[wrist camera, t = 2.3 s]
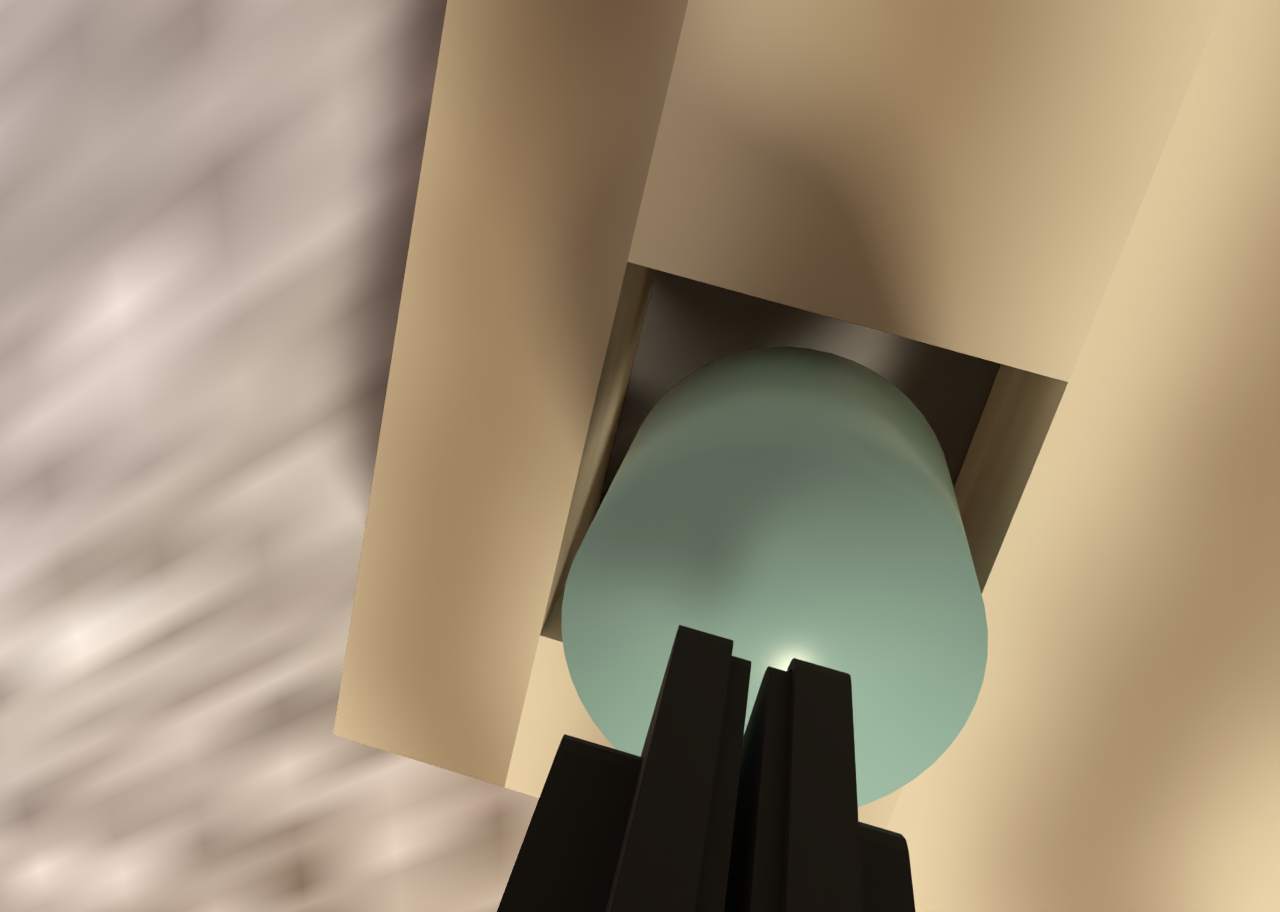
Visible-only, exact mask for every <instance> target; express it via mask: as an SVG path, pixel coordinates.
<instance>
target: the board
mask: <svg viewBox="0 0 1280 912" xmlns="http://www.w3.org/2000/svg"><path fill="white" fill-rule="evenodd" d="M656 270H660V271H663V272H667V273H671V274H674V275H678V276H682V277H685V278H689V279H693V280H696V281H700V282H704V283H707V284H711V285H715V286H718V287H722V288H726V289H729V290H733V291H737V292H740V293H744V294H747V295H751V296H755V297H758V298H762V299H766V300H769V301H773V302H777V303H780V304H784V305H788V306H791V307H795V308H799V309H802V310H806V311H810V312H813V313H817V314H821V315H824V316H828V317H832V318H835V319H839V320H843V321H846V322H850V323H854V324H857V325H861V326H865V327H868V328H872V329H875V330H879V331H883V332H886V333H890V334H894V335H897V336H901V337H905V338H908V339H912V340H916V341H919V342H923V343H927V344H930V345H934V346H938V347H941V348H945V349H949V350H952V351H956V352H960V353H963V354H967V355H971V356H974V357H978V358H982V359H985V360H989V361H993V362H996V363H1000V364H1001V366H1000V368H999V371H998V373H997V376H996V379H995V381H994V384H993V387H992V389H991V392H990V394H989V397H988V400H987V402H986V405H985V408H984V410H983V413H982V416H981V418H980V421H979V423H978V426H977V429H976V431H975V434H974V437H973V439H972V442H971V444H970V447H969V450H968V452H967V455H966V458H965V460H964V463H963V465H962V468H961V471H960V473H959V476H958V479H957V481H956V484H955V486H954V492H955V496H956V499H957V503H958V507H959V511H960V515H961V519H962V522H963V526H964V530H965V534H966V538H967V541H968V545H969V549H970V553H971V557H972V560H973V564H974V568H975V572H976V576H977V579H978V583H979V587H980V591H981V595H982V598H983V602H984V606H985V613H986V621H987V628H988V657H987V663H986V668H985V674H984V680H983V683H982V686H981V689H980V692H979V695H978V698H977V701H976V704H975V706H974V708H973V710H972V712H971V714H970V716H969V718H968V720H967V722H966V724H965V726H964V727H963V729H962V730H961V732H960V733H959V734H958V736H957V737H956V738H955V740H954V741H953V743H952V744H951V745H950V747H949V748H948V749H947V750H946V751H945V752H944V753H943V754H942V755H941V756H940V757H939V758H938V759H937V760H936V761H935V763H934V764H933V765H931V766H930V767H929V768H928V769H926V770H925V771H924V772H923V773H921V774H920V775H919V776H918V777H916V778H915V779H914V780H913V781H911V782H909V783H908V784H906V785H904V786H903V787H901V788H899V789H898V790H896V791H894V792H893V793H891V794H889V795H887V796H884V797H882V798H880V799H878V800H875V801H873V802H871V803H869V804H866V805H863V806H860V807H858V821H859V822H862V823H866V824H869V825H873V826H876V827H879V828H883V829H886V830H889V831H893V832H896V833H899V834H902V835H903V837H904V838H905V839H906V841H907V846H908V850H909V857H910V866H911V875H912V884H913V893H914V902H915V911H916V912H1280V0H447V5H446V12H445V18H444V24H443V31H442V37H441V44H440V50H439V57H438V63H437V69H436V76H435V82H434V89H433V95H432V102H431V108H430V115H429V121H428V127H427V134H426V140H425V147H424V153H423V160H422V166H421V172H420V179H419V185H418V192H417V198H416V205H415V211H414V218H413V224H412V230H411V237H410V243H409V250H408V256H407V263H406V269H405V275H404V282H403V288H402V295H401V301H400V308H399V314H398V320H397V327H396V333H395V340H394V346H393V353H392V359H391V366H390V372H389V378H388V385H387V391H386V398H385V404H384V411H383V417H382V423H381V430H380V436H379V443H378V449H377V456H376V462H375V468H374V475H373V481H372V488H371V494H370V501H369V507H368V514H367V520H366V526H365V533H364V539H363V546H362V552H361V559H360V565H359V571H358V578H357V584H356V591H355V597H354V604H353V610H352V617H351V623H350V629H349V636H348V642H347V649H346V655H345V662H344V668H343V674H342V681H341V687H340V694H339V700H338V707H337V713H336V719H335V726H334V732H333V735H337V736H340V737H343V738H346V739H349V740H353V741H356V742H359V743H362V744H366V745H369V746H372V747H375V748H379V749H382V750H385V751H388V752H392V753H395V754H398V755H401V756H405V757H408V758H411V759H414V760H417V761H421V762H424V763H427V764H430V765H434V766H437V767H440V768H443V769H447V770H450V771H453V772H456V773H460V774H463V775H466V776H469V777H473V778H476V779H479V780H482V781H486V782H489V783H492V784H495V785H498V786H502V787H505V788H508V789H511V790H515V791H518V792H521V793H524V794H528V795H531V796H534V797H537V798H540V795H541V792H542V790H543V787H544V784H545V782H546V779H547V776H548V774H549V771H550V768H551V766H552V763H553V760H554V758H555V755H556V752H557V750H558V747H559V745H560V742H561V740H562V737H563V736H564V734H566V735H569V736H573V737H576V738H580V739H583V740H586V741H590V742H593V743H596V744H600V745H603V746H606V747H610V748H613V749H616V748H615V747H614V746H613V745H612V744H611V743H610V742H609V741H608V740H607V739H606V737H605V736H604V735H603V734H602V732H601V731H600V730H599V728H598V727H597V726H596V725H595V723H594V722H593V721H592V719H591V717H590V716H589V714H588V712H587V710H586V709H585V707H584V705H583V704H582V702H581V700H580V698H579V696H578V693H577V691H576V689H575V686H574V684H573V682H572V679H571V677H570V673H569V669H568V666H567V662H566V659H565V655H564V647H563V640H562V632H561V623H562V603H563V596H564V590H565V584H566V581H567V578H568V575H569V571H570V568H571V565H572V562H573V560H574V558H575V556H576V554H577V552H578V550H579V547H580V545H581V543H582V541H583V539H584V537H585V535H586V533H587V531H588V529H589V527H590V525H591V523H592V521H593V519H594V518H595V516H596V513H597V509H598V505H599V501H600V496H601V492H602V488H603V484H604V480H605V476H606V472H607V468H608V464H609V460H610V456H611V452H612V447H613V443H614V439H615V435H616V431H617V427H618V423H619V419H620V415H621V411H622V407H623V403H624V398H625V394H626V390H627V386H628V382H629V378H630V374H631V370H632V366H633V362H634V358H635V353H636V349H637V345H638V341H639V337H640V333H641V329H642V325H643V321H644V317H645V313H646V309H647V304H648V300H649V296H650V292H651V288H652V284H653V280H654V276H655V272H656Z"/></svg>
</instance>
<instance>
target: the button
mask: <svg viewBox="0 0 1280 912" xmlns="http://www.w3.org/2000/svg"><path fill="white" fill-rule="evenodd" d="M679 625H682V626H686V627H689V628H693V629H696V630H699V631H703V632H706V633H710V634H713V635H717V636H720V637H724V638H727V639H731V640H733V641H734V642H733V651H732V656H735V657H739V658H742V659H745V660H749V661H751V673H750V682H749V691H748V700H747V709H746V718H745V727H744V733H745V730H746V727H747V724H748V721H749V718H750V715H751V712H752V709H753V706H754V703H755V700H756V697H757V694H758V691H759V688H760V685H761V682H762V679H763V676H764V673H765V671H766V669H767V667H768V666H770V667H773V668H776V669H780V670H783V671H787V669H788V667H789V664H790V662H791V660H792V659H793V658H796V659H800V660H803V661H807V662H810V663H814V664H817V665H820V666H824V667H827V668H831V669H834V670H838V671H841V672H845V673H848V674H850V676H851V684H852V704H853V724H854V743H855V763H856V783H857V802H858V807H860V806H863V805H866V804H869V803H871V802H873V801H875V800H878V799H880V798H882V797H884V796H887V795H889V794H891V793H893V792H894V791H896V790H898V789H899V788H901V787H903V786H904V785H906V784H908V783H909V782H911V781H913V780H914V779H915V778H916V777H918V776H919V775H920V774H921V773H923V772H924V771H925V770H926V769H928V768H929V767H930V766H931V765H933V764H934V763H935V761H936V760H937V759H938V758H939V757H940V756H941V755H942V754H943V753H944V752H945V751H946V750H947V749H948V748H949V747H950V745H951V744H952V743H953V741H954V740H955V738H956V737H957V736H958V734H959V733H960V732H961V730H962V729H963V727H964V726H965V724H966V722H967V720H968V718H969V716H970V714H971V712H972V710H973V708H974V706H975V704H976V701H977V698H978V695H979V692H980V689H981V686H982V683H983V680H984V674H985V668H986V663H987V657H988V628H987V621H986V613H985V606H984V602H983V598H982V595H981V591H980V587H979V583H978V579H977V576H976V572H975V568H974V564H973V560H972V557H971V553H970V549H969V545H968V541H967V538H966V534H965V530H964V526H963V522H962V519H961V515H960V511H959V507H958V503H957V499H956V496H955V492H954V488H953V484H952V480H951V477H950V473H949V469H948V466H947V463H946V459H945V456H944V452H943V450H942V448H941V446H940V444H939V441H938V439H937V437H936V435H935V433H934V431H933V430H932V428H931V427H930V425H929V423H928V422H927V420H926V419H925V417H924V416H923V414H922V413H921V412H920V411H919V410H918V408H917V407H916V406H915V405H914V404H913V403H912V402H911V400H910V399H909V398H908V397H907V396H906V395H904V394H903V393H902V392H901V391H900V390H899V389H898V388H897V387H895V386H894V385H893V384H892V383H891V382H889V381H888V380H886V379H885V378H883V377H882V376H880V375H879V374H877V373H876V372H874V371H872V370H870V369H868V368H866V367H864V366H862V365H860V364H858V363H856V362H854V361H852V360H849V359H846V358H843V357H840V356H837V355H835V354H832V353H827V352H822V351H817V350H813V349H806V348H793V347H775V348H761V349H756V350H750V351H744V352H740V353H737V354H733V355H730V356H727V357H724V358H721V359H718V360H716V361H714V362H712V363H710V364H708V365H705V366H703V367H701V368H699V369H698V370H696V371H695V372H693V373H691V374H690V375H688V376H687V377H685V378H684V379H682V380H681V381H680V382H679V383H677V384H676V385H675V386H674V387H673V388H671V389H670V390H669V391H668V392H667V393H666V394H665V395H664V396H663V397H662V398H661V399H660V400H659V401H658V403H657V404H656V405H655V406H654V407H653V408H652V410H651V411H650V413H649V414H648V415H647V417H646V418H645V420H644V421H643V423H642V424H641V426H640V428H639V430H638V432H637V434H636V436H635V438H634V440H633V442H632V444H631V446H630V448H629V450H628V452H627V454H626V456H625V458H624V460H623V462H622V464H621V466H620V468H619V470H618V472H617V474H616V476H615V478H614V480H613V482H612V484H611V486H610V488H609V490H608V492H607V494H606V496H605V498H604V500H603V502H602V504H601V506H600V508H599V510H598V512H597V514H596V516H595V518H594V519H593V521H592V523H591V525H590V527H589V529H588V531H587V533H586V535H585V537H584V539H583V541H582V543H581V545H580V547H579V550H578V552H577V554H576V556H575V558H574V560H573V562H572V565H571V568H570V571H569V575H568V578H567V581H566V584H565V590H564V596H563V603H562V623H561V632H562V640H563V647H564V655H565V659H566V662H567V666H568V669H569V673H570V677H571V679H572V682H573V684H574V686H575V689H576V691H577V693H578V696H579V698H580V700H581V702H582V704H583V705H584V707H585V709H586V710H587V712H588V714H589V716H590V717H591V719H592V721H593V722H594V723H595V725H596V726H597V727H598V728H599V730H600V731H601V732H602V734H603V735H604V736H605V737H606V739H607V740H608V741H609V742H610V743H611V744H612V745H613V746H614V747H615V748H616V749H617V750H620V751H623V752H627V753H630V754H633V755H637V756H640V757H641V753H642V750H643V746H644V743H645V740H646V736H647V733H648V729H649V726H650V722H651V719H652V715H653V712H654V708H655V705H656V702H657V698H658V695H659V691H660V688H661V684H662V681H663V677H664V674H665V670H666V667H667V664H668V660H669V657H670V653H671V650H672V646H673V643H674V639H675V636H676V633H677V630H678V627H679Z"/></svg>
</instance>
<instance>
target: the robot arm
mask: <svg viewBox="0 0 1280 912" xmlns="http://www.w3.org/2000/svg"><path fill="white" fill-rule="evenodd" d="M733 642H734V641H733V640H731V639H727V638H724V637H720V636H717V635H713V634H710V633H706V632H703V631H699V630H696V629H693V628H689V627H686V626H682V625H679V627H678V630H677V633H676V636H675V639H674V643H673V646H672V650H671V653H670V657H669V660H668V664H667V667H666V670H665V674H664V677H663V681H662V684H661V688H660V691H659V695H658V698H657V702H656V705H655V708H654V712H653V715H652V719H651V722H650V726H649V729H648V733H647V736H646V740H645V743H644V746H643V750H642V753H641V757H640V756H637V755H633V754H630V753H627V752H623V751H620V750H617V749H613V748H610V747H606V746H603V745H600V744H596V743H593V742H590V741H586V740H583V739H580V738H576V737H573V736H569V735H566V734H564V736H563V737H562V740H561V742H560V745H559V747H558V750H557V752H556V755H555V758H554V760H553V763H552V766H551V768H550V771H549V774H548V776H547V779H546V782H545V784H544V787H543V790H542V792H541V795H540V798H539V800H538V803H537V806H536V809H535V811H534V814H533V817H532V819H531V822H530V825H529V827H528V830H527V833H526V835H525V838H524V841H523V843H522V846H521V849H520V851H519V854H518V857H517V859H516V862H515V865H514V867H513V870H512V873H511V875H510V878H509V881H508V883H507V886H506V889H505V891H504V894H503V897H502V900H501V902H500V905H499V908H498V910H497V912H916V911H915V902H914V893H913V884H912V875H911V866H910V857H909V850H908V846H907V841H906V839H905V838H904V837H903V835H902V834H899V833H896V832H893V831H889V830H886V829H883V828H879V827H876V826H873V825H869V824H866V823H862V822H859V821H858V802H857V783H856V763H855V743H854V724H853V704H852V684H851V676H850V674H848V673H845V672H841V671H838V670H834V669H831V668H827V667H824V666H820V665H817V664H814V663H810V662H807V661H803V660H800V659H796V658H793V659H792V660H791V662H790V664H789V667H788V669H787V671H783V670H780V669H776V668H773V667H770V666H768V667H767V669H766V671H765V673H764V676H763V679H762V682H761V685H760V688H759V691H758V694H757V697H756V700H755V703H754V706H753V709H752V712H751V715H750V718H749V721H748V724H747V727H746V730H745V733H744V727H745V718H746V709H747V700H748V691H749V682H750V673H751V661H749V660H745V659H742V658H739V657H735V656H732V651H733Z"/></svg>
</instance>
